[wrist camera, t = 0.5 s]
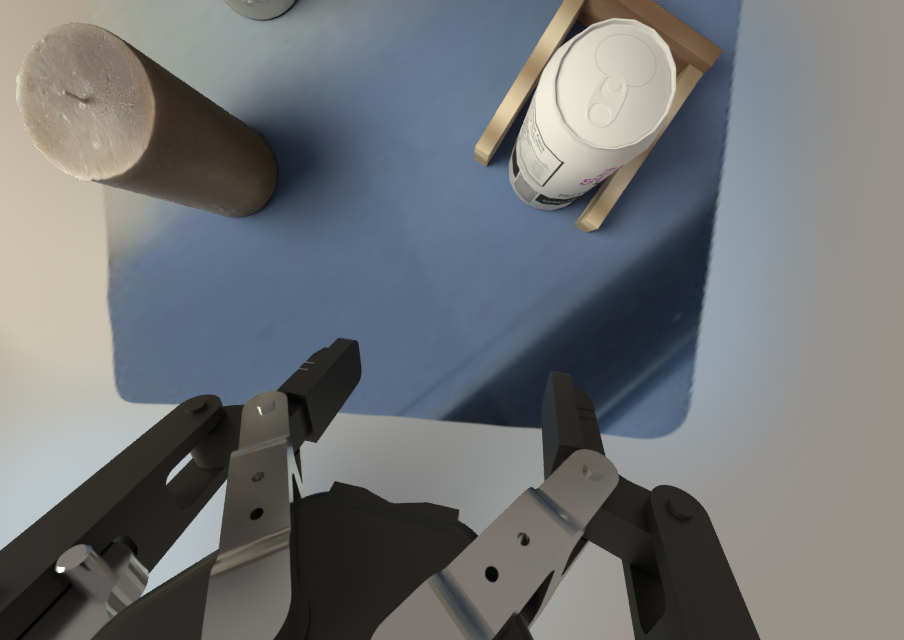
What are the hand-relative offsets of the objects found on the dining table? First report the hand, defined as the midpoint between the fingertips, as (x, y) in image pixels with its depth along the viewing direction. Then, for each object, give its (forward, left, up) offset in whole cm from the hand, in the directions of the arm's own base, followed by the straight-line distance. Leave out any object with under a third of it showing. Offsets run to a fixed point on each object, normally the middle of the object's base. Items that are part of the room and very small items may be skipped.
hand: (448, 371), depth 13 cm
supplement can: (-10, +14, -23) cm, 29 cm away
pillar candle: (-23, -17, -23) cm, 36 cm away
